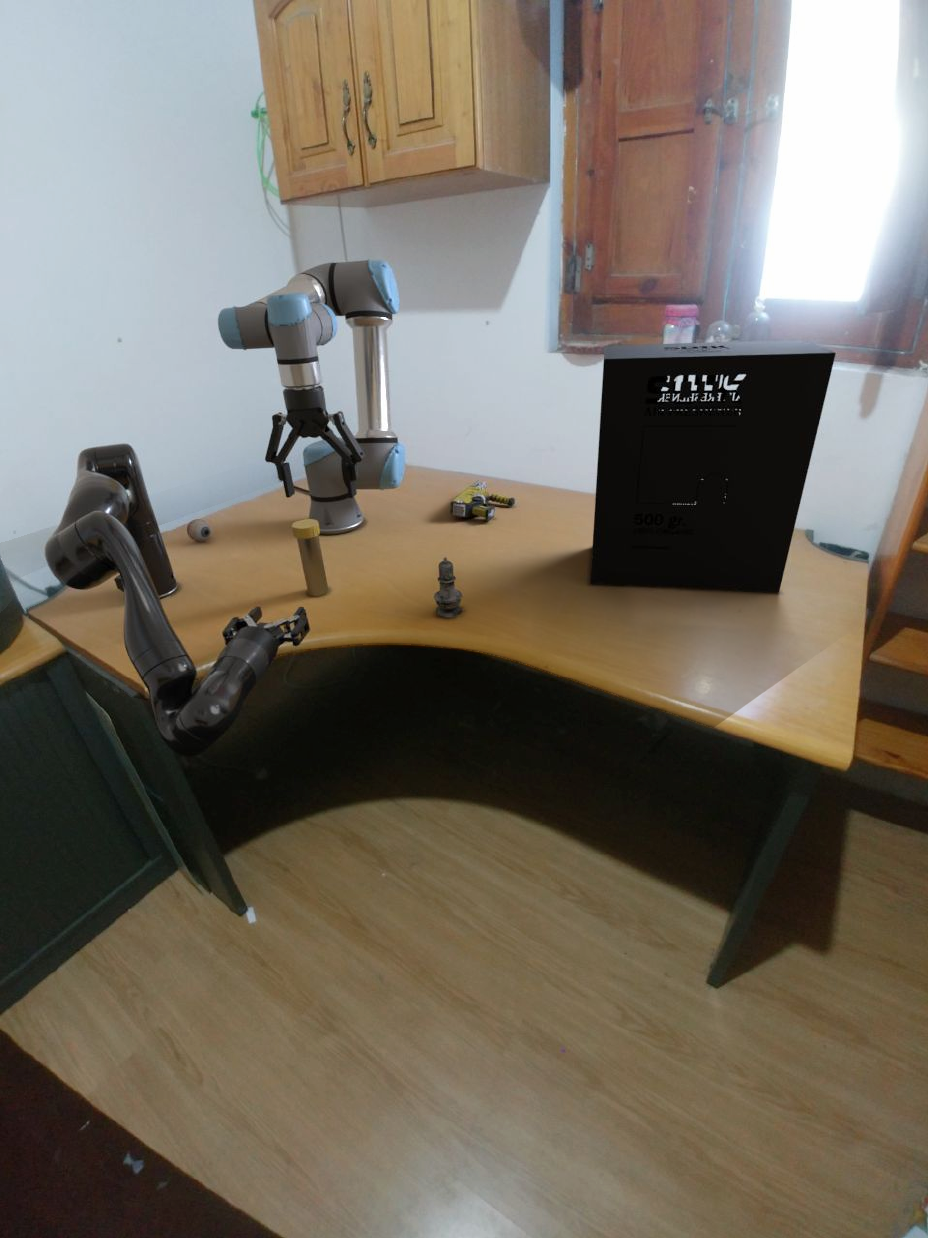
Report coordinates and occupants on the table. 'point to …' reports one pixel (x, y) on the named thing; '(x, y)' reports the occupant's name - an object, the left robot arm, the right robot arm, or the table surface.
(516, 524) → the table surface
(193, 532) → the eyeball
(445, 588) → the dark grey chess piece
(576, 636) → the table surface
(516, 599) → the table surface
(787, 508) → the cardboard box
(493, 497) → the toy gun
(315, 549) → the jar
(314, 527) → the lid
